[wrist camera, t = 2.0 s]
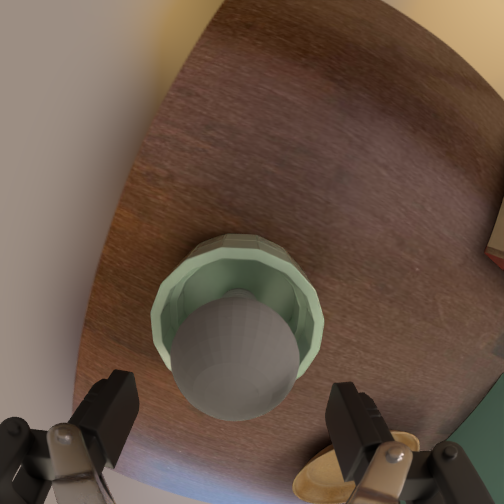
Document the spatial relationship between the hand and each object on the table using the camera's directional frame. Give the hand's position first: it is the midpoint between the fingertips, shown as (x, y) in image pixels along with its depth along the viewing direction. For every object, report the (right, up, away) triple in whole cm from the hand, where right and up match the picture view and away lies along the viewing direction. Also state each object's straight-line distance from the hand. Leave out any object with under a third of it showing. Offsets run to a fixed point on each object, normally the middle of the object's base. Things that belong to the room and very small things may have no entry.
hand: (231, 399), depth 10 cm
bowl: (0, +2, +10) cm, 10 cm away
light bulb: (0, +2, +10) cm, 10 cm away
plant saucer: (+12, -18, +15) cm, 26 cm away
